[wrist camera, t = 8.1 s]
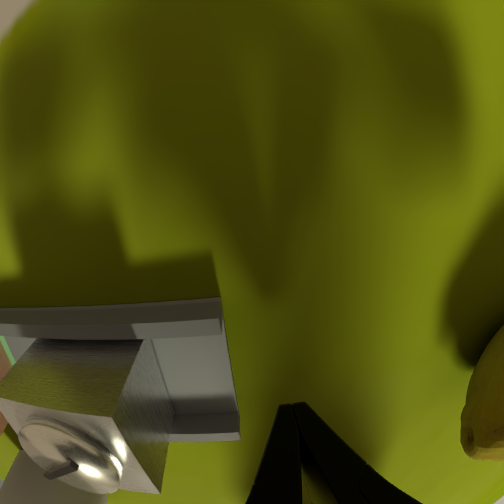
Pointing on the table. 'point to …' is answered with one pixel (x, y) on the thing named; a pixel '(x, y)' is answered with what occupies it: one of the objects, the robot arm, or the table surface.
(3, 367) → the block
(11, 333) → the gauge bench
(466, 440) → the lemon
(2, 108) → the table surface
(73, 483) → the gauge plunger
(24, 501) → the can
